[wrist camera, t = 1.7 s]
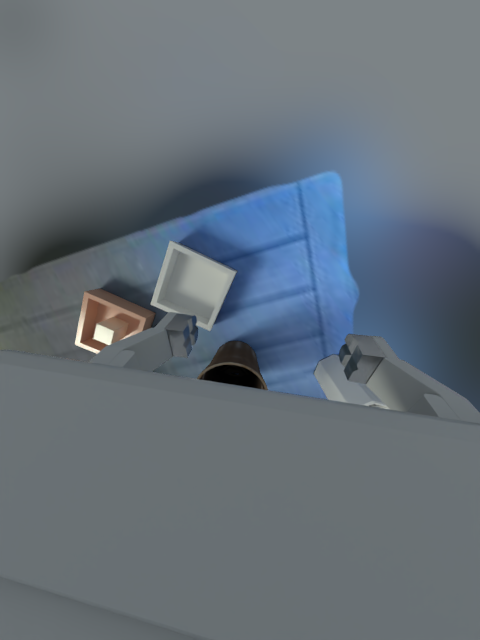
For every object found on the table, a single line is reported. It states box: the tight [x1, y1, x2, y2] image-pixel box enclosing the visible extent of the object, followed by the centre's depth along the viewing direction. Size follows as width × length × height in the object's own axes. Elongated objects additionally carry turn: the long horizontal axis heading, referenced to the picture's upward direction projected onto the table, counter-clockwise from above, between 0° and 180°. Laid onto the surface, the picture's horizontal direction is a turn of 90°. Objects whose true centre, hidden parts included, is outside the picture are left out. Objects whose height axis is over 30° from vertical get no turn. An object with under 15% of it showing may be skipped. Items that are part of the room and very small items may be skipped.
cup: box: [314, 355, 389, 409], centre depth 46 cm, size 11×11×18 cm
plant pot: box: [197, 341, 268, 390], centre depth 47 cm, size 16×16×16 cm
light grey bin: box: [150, 241, 237, 331], centre depth 46 cm, size 16×16×5 cm
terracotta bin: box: [75, 289, 156, 354], centre depth 51 cm, size 16×16×5 cm
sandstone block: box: [93, 317, 129, 345], centre depth 50 cm, size 4×4×6 cm
